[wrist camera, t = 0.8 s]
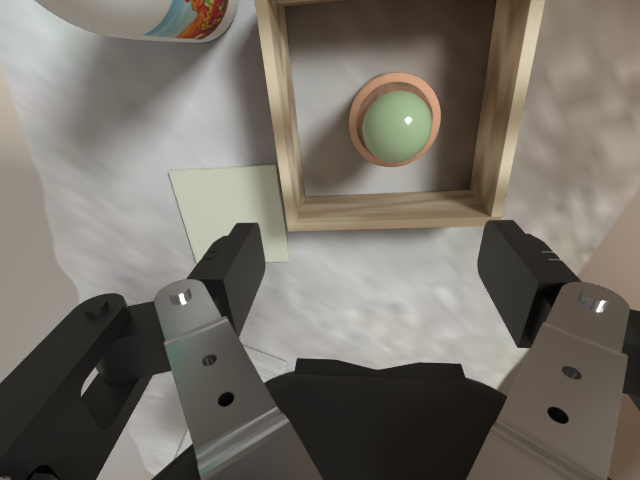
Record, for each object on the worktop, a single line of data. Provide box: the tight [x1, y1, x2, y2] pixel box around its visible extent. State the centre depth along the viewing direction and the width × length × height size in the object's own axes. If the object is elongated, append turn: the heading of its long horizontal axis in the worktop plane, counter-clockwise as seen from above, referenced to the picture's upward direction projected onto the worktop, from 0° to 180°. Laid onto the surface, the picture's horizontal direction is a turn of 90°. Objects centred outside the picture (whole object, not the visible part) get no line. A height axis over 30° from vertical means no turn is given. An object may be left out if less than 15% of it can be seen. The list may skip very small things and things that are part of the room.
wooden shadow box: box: [255, 0, 545, 231], centre depth 27 cm, size 18×18×6 cm
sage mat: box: [168, 164, 290, 263], centre depth 36 cm, size 11×11×1 cm
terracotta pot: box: [349, 72, 441, 167], centre depth 25 cm, size 6×6×11 cm
